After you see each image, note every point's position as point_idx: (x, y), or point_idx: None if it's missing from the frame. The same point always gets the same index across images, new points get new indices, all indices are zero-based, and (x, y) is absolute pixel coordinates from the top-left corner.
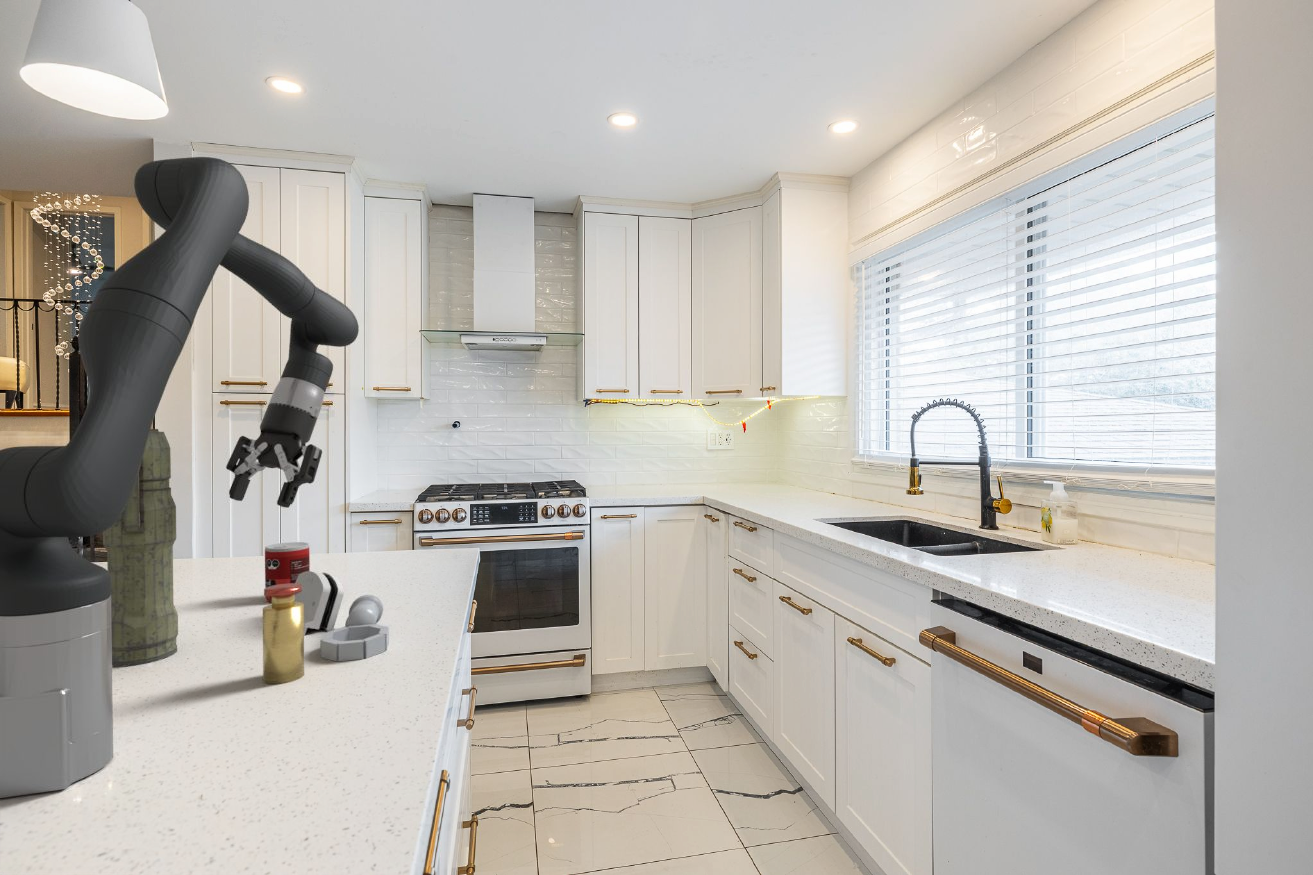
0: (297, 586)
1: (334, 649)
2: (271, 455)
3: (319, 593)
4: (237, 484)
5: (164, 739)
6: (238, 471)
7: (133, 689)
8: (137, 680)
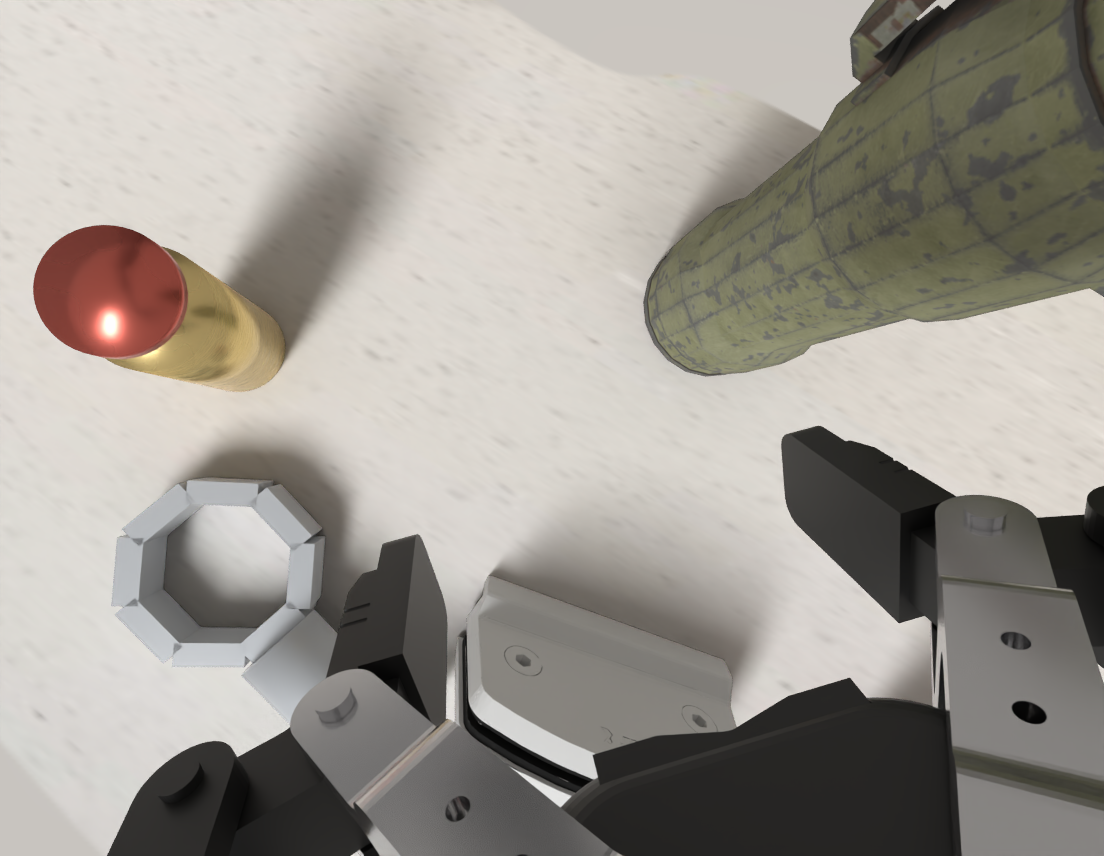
0: (61, 321)
1: (200, 479)
2: (796, 852)
3: (503, 681)
4: (846, 472)
5: (152, 27)
6: (968, 513)
7: (499, 171)
8: (549, 207)
